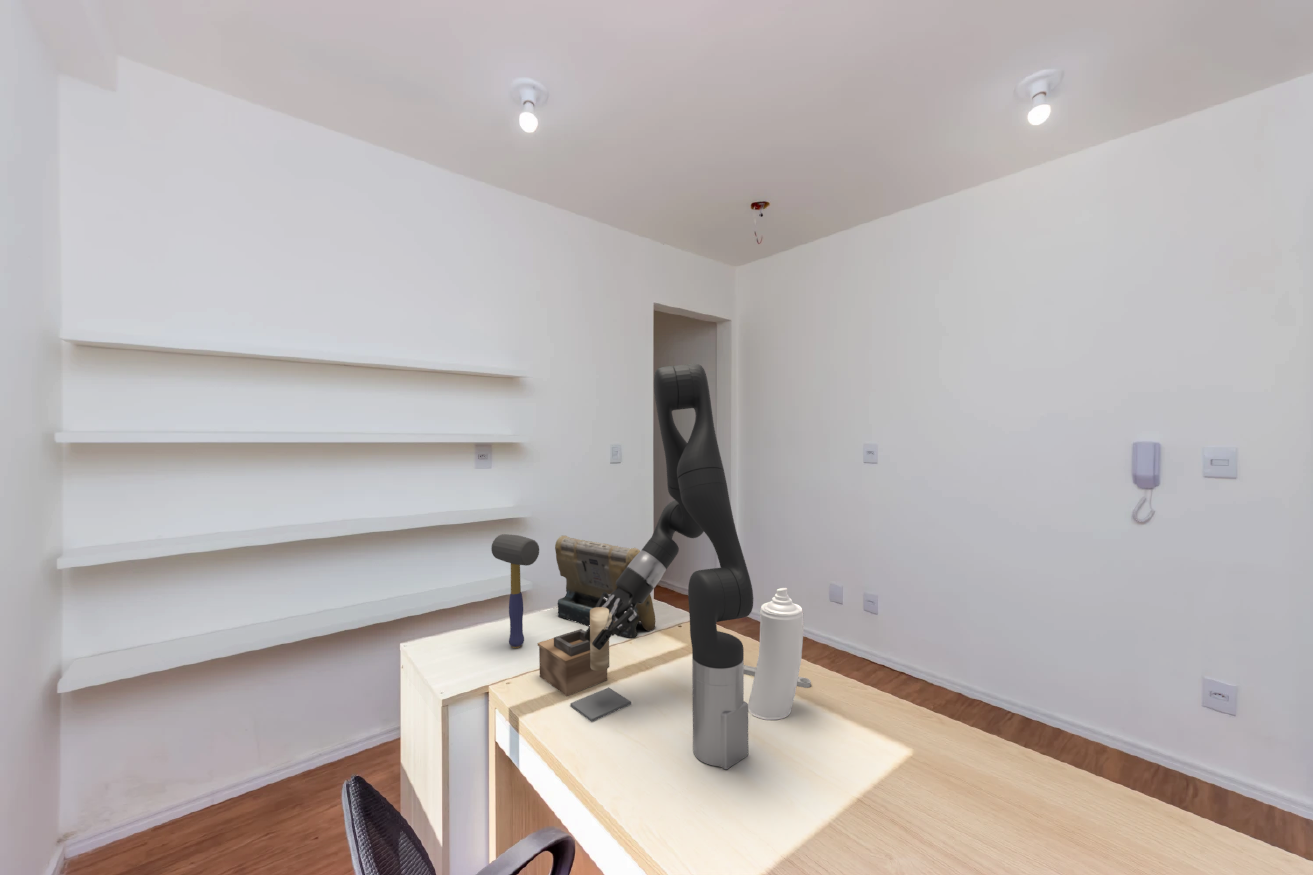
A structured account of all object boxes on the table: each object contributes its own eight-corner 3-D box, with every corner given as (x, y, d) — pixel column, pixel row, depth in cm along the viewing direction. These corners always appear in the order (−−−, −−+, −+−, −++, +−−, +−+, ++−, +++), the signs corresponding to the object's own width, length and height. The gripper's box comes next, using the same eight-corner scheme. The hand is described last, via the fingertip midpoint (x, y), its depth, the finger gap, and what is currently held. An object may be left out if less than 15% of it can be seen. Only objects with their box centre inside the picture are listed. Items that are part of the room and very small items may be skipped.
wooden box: (609, 679, 122) (608, 637, 122) (566, 697, 114) (565, 651, 114) (579, 661, 131) (579, 622, 131) (537, 676, 124) (537, 634, 124)
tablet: (662, 624, 155) (662, 540, 155) (637, 641, 144) (636, 550, 143) (576, 605, 172) (576, 529, 171) (547, 619, 160) (546, 538, 160)
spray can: (760, 688, 118) (760, 577, 117) (808, 700, 112) (808, 584, 112) (741, 712, 108) (741, 592, 107) (792, 727, 102) (792, 601, 102)
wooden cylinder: (613, 665, 111) (612, 609, 111) (599, 672, 108) (599, 615, 108) (599, 660, 114) (599, 605, 113) (586, 667, 111) (585, 611, 110)
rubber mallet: (490, 645, 141) (488, 535, 140) (512, 636, 147) (511, 530, 146) (520, 657, 134) (519, 541, 133) (543, 647, 140) (541, 535, 139)
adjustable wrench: (812, 685, 120) (812, 678, 120) (804, 698, 114) (804, 690, 114) (712, 659, 133) (712, 652, 133) (701, 670, 127) (701, 662, 127)
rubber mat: (631, 704, 111) (631, 701, 111) (591, 722, 105) (591, 719, 105) (608, 689, 117) (608, 687, 117) (570, 705, 111) (570, 703, 111)
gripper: (615, 558, 120) (566, 622, 114) (646, 574, 108) (593, 646, 102) (636, 577, 123) (588, 640, 117) (668, 595, 111) (617, 666, 105)
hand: (591, 642), depth 110 cm, fingers closed on wooden cylinder, 4 cm apart
